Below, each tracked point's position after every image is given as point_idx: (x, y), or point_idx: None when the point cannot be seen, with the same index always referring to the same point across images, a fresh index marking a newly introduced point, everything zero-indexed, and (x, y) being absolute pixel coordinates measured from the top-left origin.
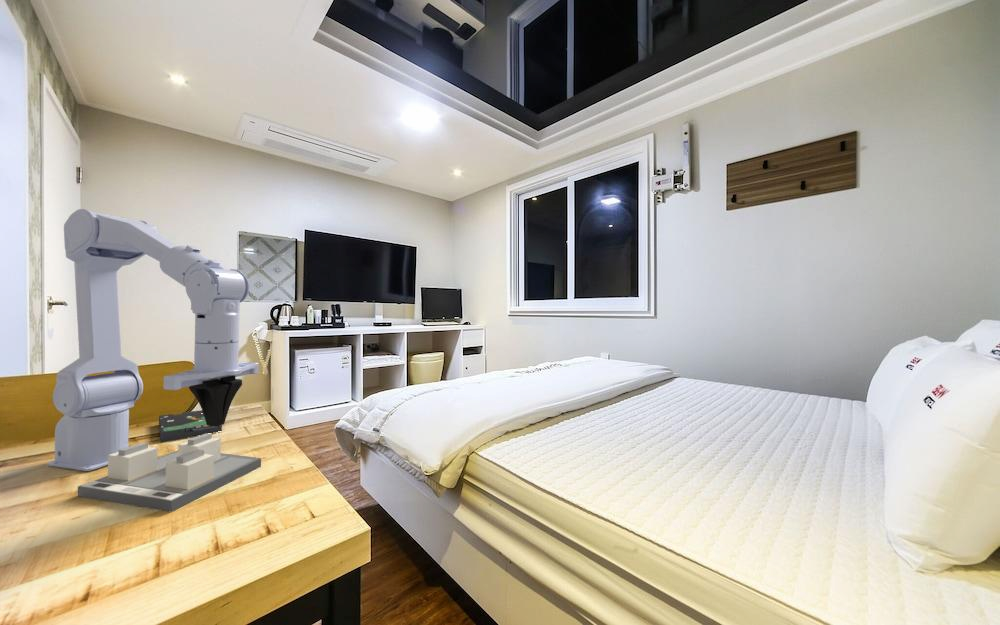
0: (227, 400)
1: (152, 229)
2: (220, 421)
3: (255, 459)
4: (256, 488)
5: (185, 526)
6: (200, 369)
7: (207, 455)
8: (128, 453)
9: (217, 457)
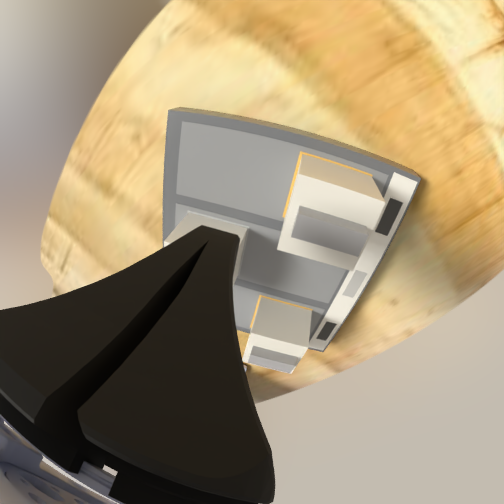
0: (139, 297)
1: None
2: (220, 238)
3: (178, 118)
4: (306, 38)
5: (464, 113)
6: None
7: (304, 192)
8: (288, 356)
9: (193, 216)
